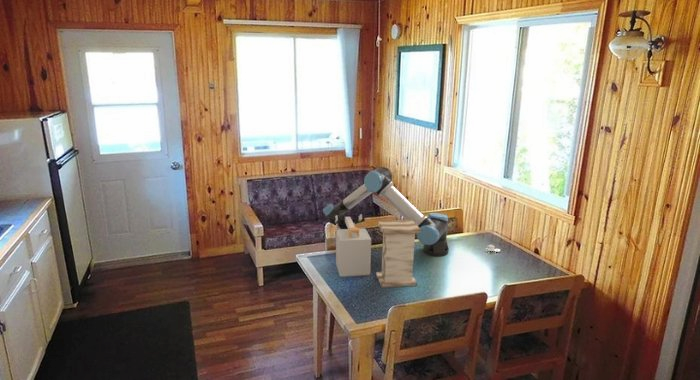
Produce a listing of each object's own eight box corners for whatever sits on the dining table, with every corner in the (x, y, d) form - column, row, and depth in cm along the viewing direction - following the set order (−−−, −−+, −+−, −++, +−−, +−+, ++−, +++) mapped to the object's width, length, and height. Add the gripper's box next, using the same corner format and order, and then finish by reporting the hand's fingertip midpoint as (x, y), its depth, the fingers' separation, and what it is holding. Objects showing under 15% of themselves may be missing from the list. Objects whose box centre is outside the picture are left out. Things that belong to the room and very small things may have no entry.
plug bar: (343, 221, 255) (343, 215, 254) (351, 221, 256) (351, 214, 255) (350, 237, 232) (350, 230, 231) (359, 237, 233) (359, 229, 232)
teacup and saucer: (501, 251, 270) (501, 245, 269) (497, 256, 263) (498, 249, 262) (486, 248, 274) (487, 242, 273) (482, 252, 268) (483, 246, 267)
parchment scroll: (375, 274, 236) (377, 221, 228) (409, 272, 239) (412, 219, 231) (382, 287, 223) (384, 230, 215) (417, 285, 226) (420, 229, 217)
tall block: (364, 261, 251) (365, 228, 246) (370, 274, 236) (371, 239, 231) (335, 263, 249) (336, 229, 243) (339, 276, 233) (340, 240, 228)
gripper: (364, 229, 270) (371, 222, 250) (323, 231, 266) (327, 224, 246) (363, 216, 272) (370, 209, 251) (322, 218, 268) (326, 211, 247)
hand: (349, 217), depth 248 cm, fingers open, 13 cm apart
